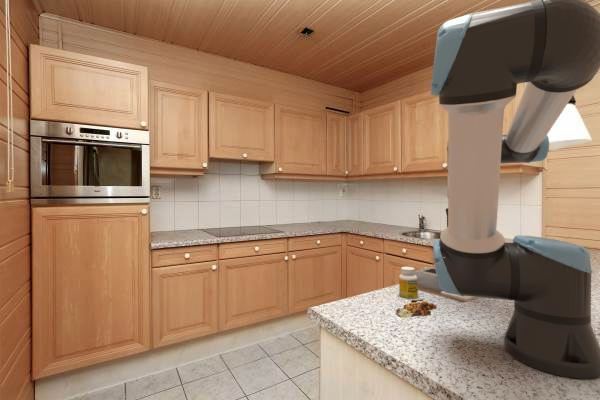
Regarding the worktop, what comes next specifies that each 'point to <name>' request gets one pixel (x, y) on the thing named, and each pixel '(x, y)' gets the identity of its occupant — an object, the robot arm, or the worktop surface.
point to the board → (440, 294)
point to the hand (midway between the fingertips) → (461, 262)
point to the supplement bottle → (408, 283)
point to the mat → (458, 296)
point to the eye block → (428, 279)
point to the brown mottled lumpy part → (416, 308)
